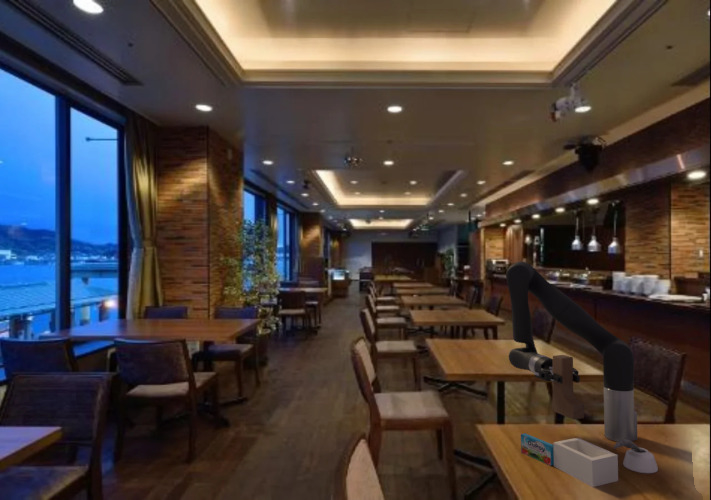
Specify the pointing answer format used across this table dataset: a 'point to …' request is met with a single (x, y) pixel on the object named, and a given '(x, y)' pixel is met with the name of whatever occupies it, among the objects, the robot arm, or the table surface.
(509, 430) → the table surface
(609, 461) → the base block
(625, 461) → the inkwell
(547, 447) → the yogurt
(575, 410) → the wooden block
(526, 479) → the table surface
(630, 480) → the table surface
